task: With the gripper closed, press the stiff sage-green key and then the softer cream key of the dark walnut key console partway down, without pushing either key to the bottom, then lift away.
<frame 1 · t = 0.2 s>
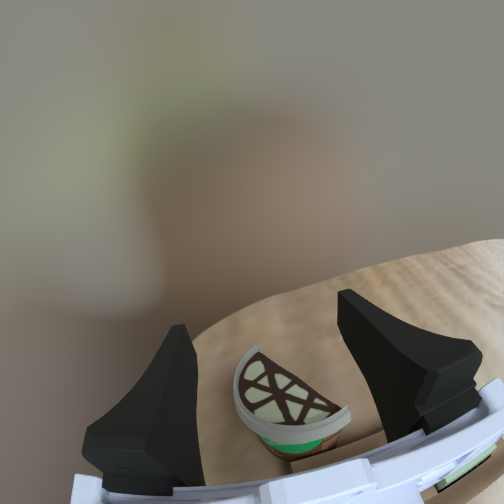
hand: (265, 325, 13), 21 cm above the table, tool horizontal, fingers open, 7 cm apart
food container: (284, 442, 27), on the table
key console: (405, 482, 18), on the table
sage key: (455, 447, 17), point 4 cm above the table, slide at 0.0 cm
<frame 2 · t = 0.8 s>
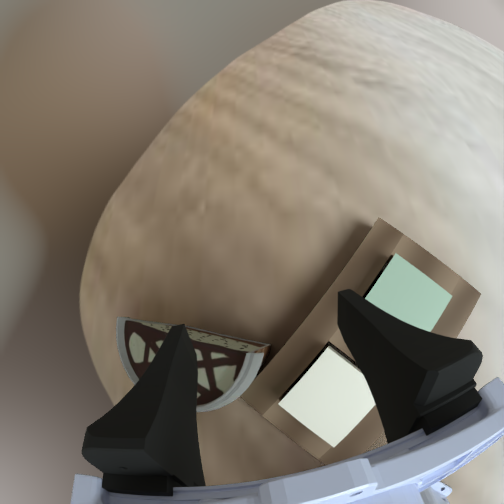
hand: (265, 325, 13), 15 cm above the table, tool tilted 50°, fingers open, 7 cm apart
cream key: (332, 396, 21), point 4 cm above the table, slide at 0.0 cm
food container: (222, 363, 28), on the table
key console: (365, 350, 24), on the table
sage key: (401, 307, 21), point 4 cm above the table, slide at 0.0 cm
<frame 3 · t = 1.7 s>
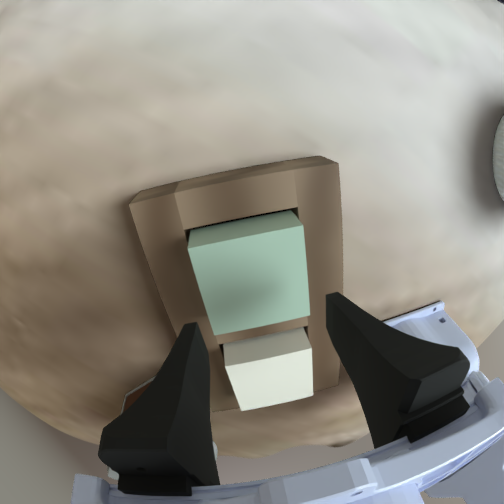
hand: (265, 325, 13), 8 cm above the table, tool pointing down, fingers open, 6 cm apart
cream key: (270, 371, 21), point 4 cm above the table, slide at 0.0 cm
food container: (174, 391, 27), on the table
key console: (255, 298, 23), on the table
sage key: (252, 274, 17), point 4 cm above the table, slide at 0.0 cm
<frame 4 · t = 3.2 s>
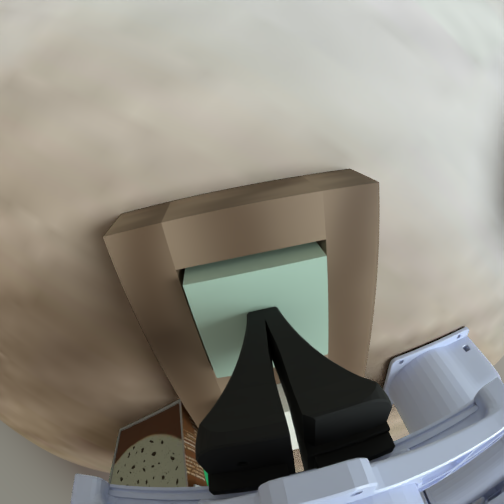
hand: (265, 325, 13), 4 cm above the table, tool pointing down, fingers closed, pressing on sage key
cream key: (282, 419, 17), point 4 cm above the table, slide at 0.0 cm
food container: (172, 427, 23), on the table
key console: (265, 338, 19), on the table
sage key: (261, 310, 14), point 3 cm above the table, slide at 1.1 cm, touching gripper
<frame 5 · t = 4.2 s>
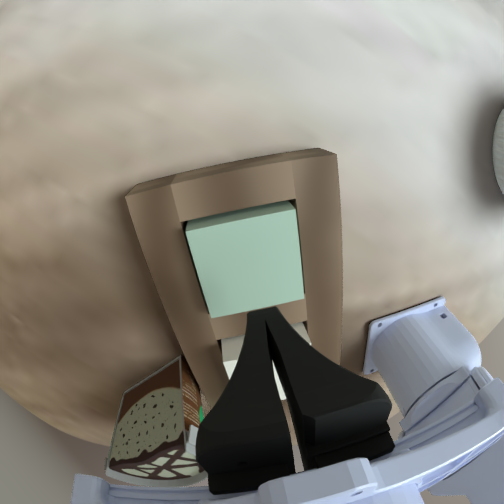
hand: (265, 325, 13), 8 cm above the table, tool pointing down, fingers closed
cream key: (269, 367, 21), point 4 cm above the table, slide at 0.0 cm
food container: (172, 388, 27), on the table
key console: (253, 293, 22), on the table
sage key: (247, 258, 18), point 3 cm above the table, slide at 1.1 cm
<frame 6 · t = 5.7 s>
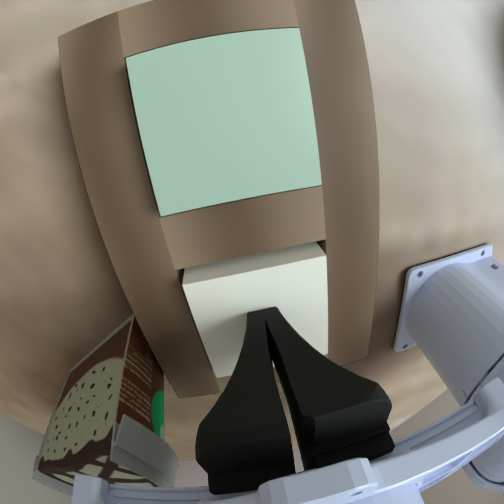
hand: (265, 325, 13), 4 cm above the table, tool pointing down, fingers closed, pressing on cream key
cream key: (261, 309, 14), point 3 cm above the table, slide at 1.2 cm, touching gripper
food container: (130, 367, 19), on the table
key console: (239, 206, 15), on the table
sage key: (225, 116, 10), point 3 cm above the table, slide at 1.1 cm
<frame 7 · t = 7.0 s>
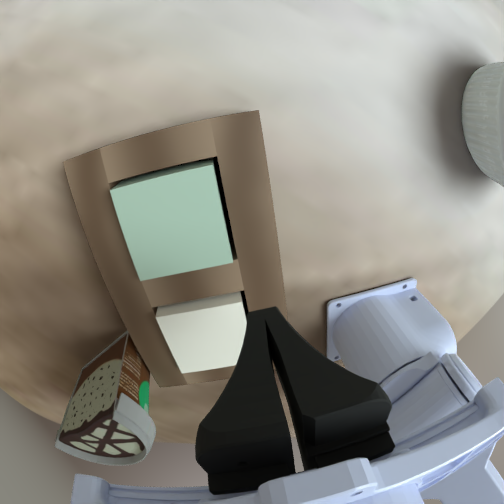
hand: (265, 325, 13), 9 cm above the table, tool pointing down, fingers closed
cream key: (208, 330, 22), point 3 cm above the table, slide at 1.2 cm
ramekin: (489, 120, 19), on the table
food container: (127, 366, 26), on the table
key console: (194, 263, 22), on the table
sage key: (174, 219, 17), point 3 cm above the table, slide at 1.1 cm
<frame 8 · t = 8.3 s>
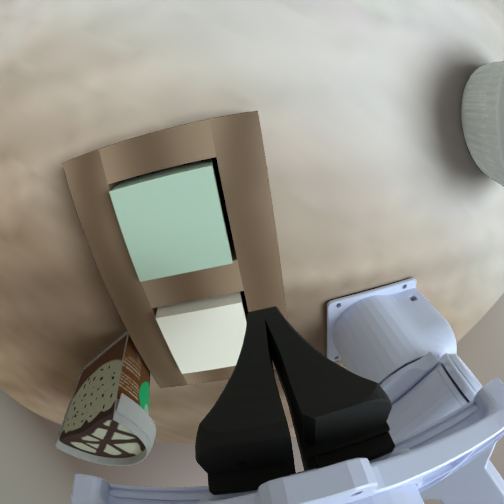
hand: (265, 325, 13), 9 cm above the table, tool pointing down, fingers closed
cream key: (208, 331, 22), point 3 cm above the table, slide at 1.2 cm
ramekin: (489, 119, 19), on the table
food container: (127, 366, 26), on the table
key console: (193, 264, 22), on the table
sage key: (173, 220, 17), point 3 cm above the table, slide at 1.1 cm
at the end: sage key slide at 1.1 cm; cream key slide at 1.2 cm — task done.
